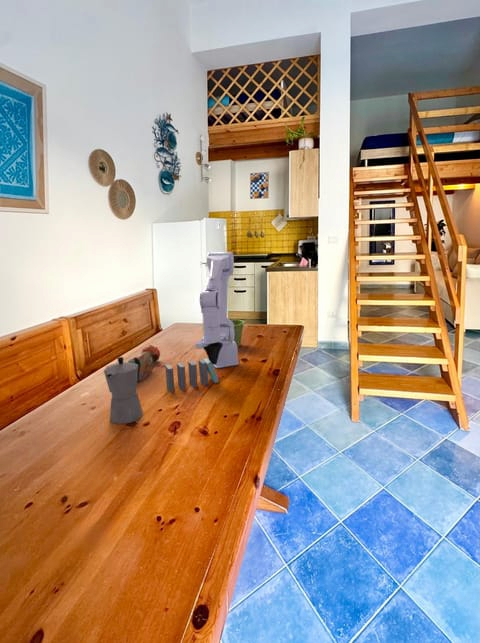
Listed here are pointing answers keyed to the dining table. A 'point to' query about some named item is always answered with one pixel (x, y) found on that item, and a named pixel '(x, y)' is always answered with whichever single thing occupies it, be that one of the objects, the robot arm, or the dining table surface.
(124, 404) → the coffeepot
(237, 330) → the plant pot
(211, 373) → the teal domino
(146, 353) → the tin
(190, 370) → the domino
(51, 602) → the dining table surface
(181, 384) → the domino
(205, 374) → the domino
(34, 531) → the dining table surface
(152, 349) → the pomegranate
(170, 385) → the domino
